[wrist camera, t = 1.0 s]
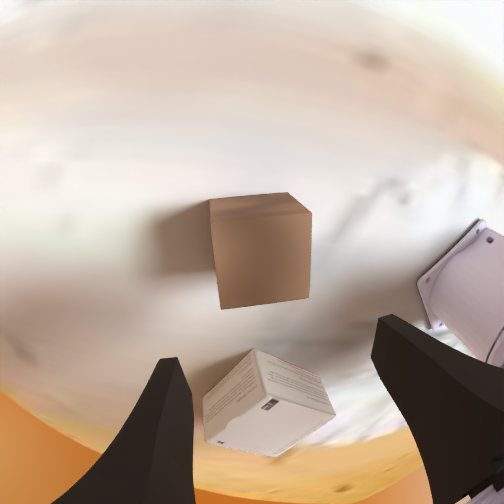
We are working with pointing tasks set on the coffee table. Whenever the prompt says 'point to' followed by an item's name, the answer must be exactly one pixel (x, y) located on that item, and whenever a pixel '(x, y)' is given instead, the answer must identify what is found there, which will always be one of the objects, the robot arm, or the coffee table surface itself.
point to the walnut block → (261, 249)
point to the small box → (265, 406)
